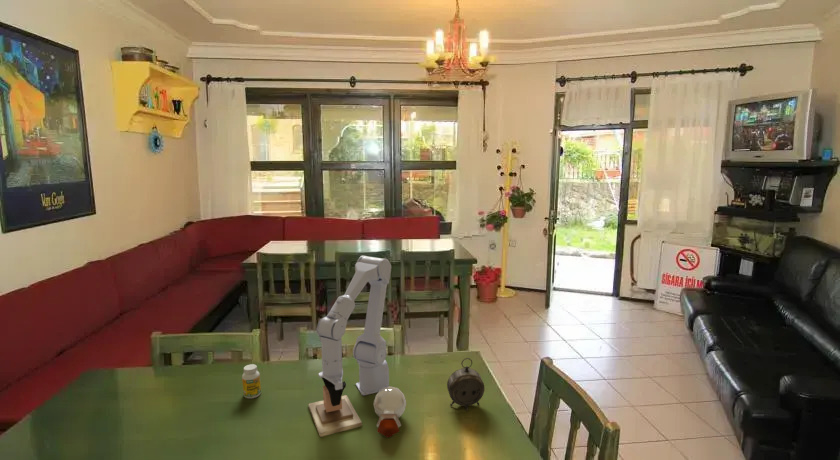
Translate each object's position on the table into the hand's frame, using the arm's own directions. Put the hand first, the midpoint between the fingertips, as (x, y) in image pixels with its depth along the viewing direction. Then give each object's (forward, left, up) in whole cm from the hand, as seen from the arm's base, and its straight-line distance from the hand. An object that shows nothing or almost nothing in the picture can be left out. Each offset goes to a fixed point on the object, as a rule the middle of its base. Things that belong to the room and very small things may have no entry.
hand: (333, 400), depth 137 cm
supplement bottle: (+21, -23, -5) cm, 32 cm away
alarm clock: (-38, +12, -5) cm, 40 cm away
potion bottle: (-14, +10, -5) cm, 18 cm away
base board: (0, 0, -5) cm, 5 cm away
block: (0, 0, -2) cm, 2 cm away
